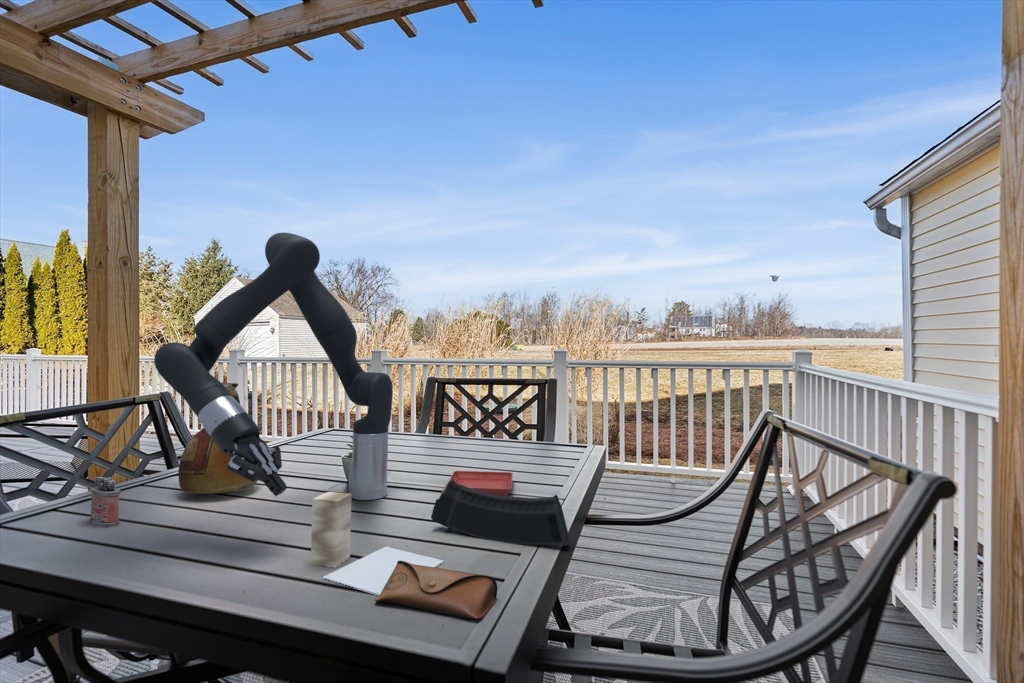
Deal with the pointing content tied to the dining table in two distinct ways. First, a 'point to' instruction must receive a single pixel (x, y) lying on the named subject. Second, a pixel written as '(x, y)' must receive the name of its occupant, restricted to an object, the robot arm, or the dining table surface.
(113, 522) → the lighter
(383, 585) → the mat
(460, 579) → the sunglasses case
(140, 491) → the dining table surface
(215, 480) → the ceramic pitcher
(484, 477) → the plant saucer
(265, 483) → the robot arm
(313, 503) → the birch block
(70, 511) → the dining table surface
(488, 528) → the magazine
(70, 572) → the dining table surface
